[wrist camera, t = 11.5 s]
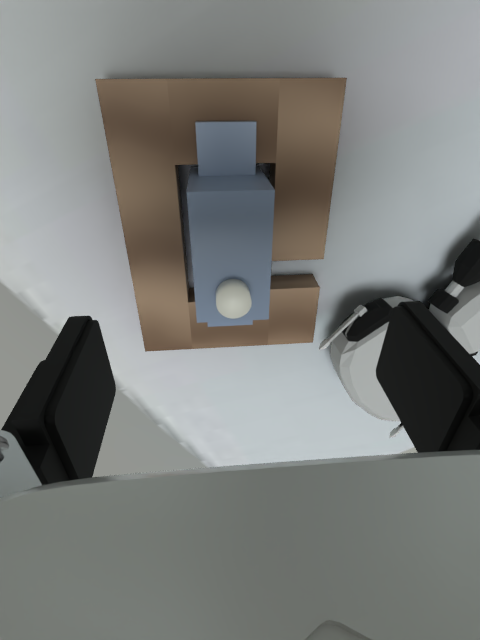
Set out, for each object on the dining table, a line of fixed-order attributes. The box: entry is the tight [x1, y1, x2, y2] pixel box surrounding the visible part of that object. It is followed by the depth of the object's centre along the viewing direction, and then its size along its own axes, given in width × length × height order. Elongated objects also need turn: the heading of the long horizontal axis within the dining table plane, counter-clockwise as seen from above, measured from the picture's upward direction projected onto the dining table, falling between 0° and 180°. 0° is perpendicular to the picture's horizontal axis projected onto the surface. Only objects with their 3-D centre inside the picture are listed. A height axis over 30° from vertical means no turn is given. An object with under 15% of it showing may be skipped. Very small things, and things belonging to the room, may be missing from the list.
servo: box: [187, 121, 275, 327], centre depth 20 cm, size 12×4×7 cm, turn 0°
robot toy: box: [319, 239, 480, 438], centre depth 27 cm, size 12×4×15 cm
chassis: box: [95, 78, 347, 351], centre depth 23 cm, size 16×12×2 cm
